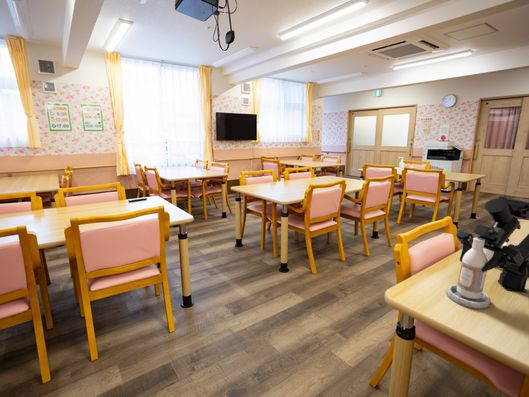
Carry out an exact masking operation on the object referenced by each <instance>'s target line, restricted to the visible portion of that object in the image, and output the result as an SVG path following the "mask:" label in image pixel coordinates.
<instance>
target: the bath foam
mask: <svg viewBox="0 0 529 397" xmlns="http://www.w3.org/2000/svg"><path fill="white" fill-rule="evenodd" d="M484 243H485V240H484V239H483V238H478V237H477V236H476V237H474V240H473V245H472V248H471V249H470V250H469V251H468V252H466V253H465V255H464V256H463V259H462V262H460V263H461V264H460V269H459V276H458V280H457V284H458V285H457V292H458V293H459V294H460V295H462V296H464V297H467V298H470V299H479V298H481V296H482V292H484V287H485V282H486V277H487V272H488V271H486V272H482V269H483V267H484V266H485V265H486V263H487V262H488V259H487V257H486V255H485V253H484V251H483V248H484Z"/></svg>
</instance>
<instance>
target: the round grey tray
mask: <svg viewBox="0 0 529 397" xmlns="http://www.w3.org/2000/svg"><path fill="white" fill-rule="evenodd" d="M457 285H458V283H455V284H454V283H453V284H449V286H448V287H447V288H446V289H447V290H446V296H447V298H448V299H450V300H451V301H453V302H454V303H455V304H457V305H460V306H463V307H466V308H468V309H474V310H486V309H488V308H490V307H489V306H490V302H491V298H490V297H489V295H488V294H487V293H486V292H484V291H483V292H482V296H481V298H479V299H470V298H467V297H464V296H462V295H460V294H459V293H458V292H457Z"/></svg>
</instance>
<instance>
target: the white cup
mask: <svg viewBox="0 0 529 397" xmlns="http://www.w3.org/2000/svg"><path fill="white" fill-rule="evenodd" d="M503 246H508V243H507V242H505V243H504V244H503V245H502V246H501V248H502V247H503ZM483 251H484V253H485V255H486V257H487V259H488V261H489V260H490V259H491V258H492V256H493V254H494V252H493V251H490V250H488V249H485V248H483Z"/></svg>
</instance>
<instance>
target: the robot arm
mask: <svg viewBox="0 0 529 397" xmlns="http://www.w3.org/2000/svg"><path fill="white" fill-rule="evenodd" d="M484 210H486V212H487V214H488V215H489V218H490V219H491V221H493V223H492V224H491V225H486V226H485V225H482V224H479V223H476V224H475V226H474V228H473V230H472V232H468V231H465V230H458V231H457V233H456V234H455V236H456V238H457V239H458V241H459V242H460V244H462V250H461V253H460V257H459V262H460V263H462V259H463V256H464V255H465V253H466V252H468V251H469V250H470V249H471V248H472V245H473V240H474V238H475V237H474V236H473V234H476V237H478V238H483V239H484V240H485V243H484V248H485V249H488V250H490V251H493V252H494V254H493V256H492V258H491V259H490V260H489V261H488V262H487V263H486V265H485V266H484V267H483V269H482V272H486V271H487V272H488V271H490V270H493V269H495V268H500V269H502V270H501V271H500V274H499V278H498V280H497V282H498V283H499V285H500V286H502V287H503V289H504V290H506V291H513V292H520V293H526V294H527V293H528V290H526V289H525V288H526V285H527V281H528V279H529V233H528V234H527V235H526V236H525V237H524V238H523V239H522V240H521V241H520V242H519V243H518V244H517V245H515V244H512V243H511V244H508V243H509V241H510V237H511V235H512V234H513V233H514V232H515V230H521V221H520V220H518V218H519V219H523V220H529V198H517V197H516V198H515V197H514V198H512V197H511V198H507V197H505V196H499V197H498V198H493V199H491V200H489V201H487V202H486V203H485V204H484ZM472 233H473V234H472ZM504 243H507V246H503V247H502V248H501V246H502V245H503V244H504Z"/></svg>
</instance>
